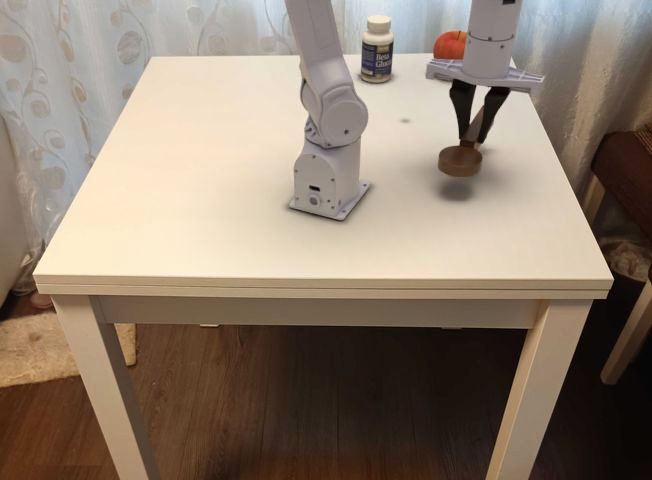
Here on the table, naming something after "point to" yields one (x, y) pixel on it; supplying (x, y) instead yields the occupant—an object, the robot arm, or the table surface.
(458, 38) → the apple
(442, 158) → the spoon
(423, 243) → the table surface
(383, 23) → the pill bottle
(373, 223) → the table surface
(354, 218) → the table surface
